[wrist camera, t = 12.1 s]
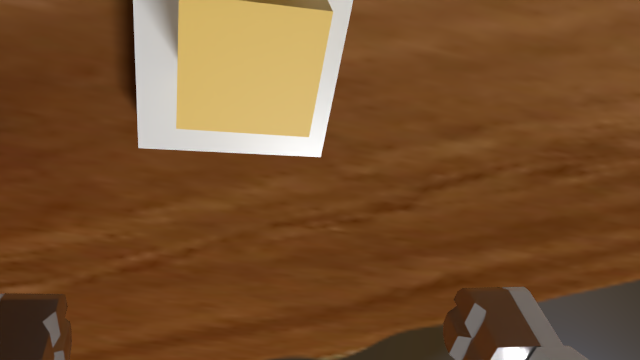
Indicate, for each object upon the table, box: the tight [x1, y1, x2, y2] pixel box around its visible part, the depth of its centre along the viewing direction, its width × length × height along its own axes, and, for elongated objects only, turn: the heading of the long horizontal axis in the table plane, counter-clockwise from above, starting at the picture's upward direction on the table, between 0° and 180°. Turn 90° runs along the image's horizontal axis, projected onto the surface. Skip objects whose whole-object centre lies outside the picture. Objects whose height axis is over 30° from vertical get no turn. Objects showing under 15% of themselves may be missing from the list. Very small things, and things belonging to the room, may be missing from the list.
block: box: [176, 0, 333, 137], centre depth 21 cm, size 5×5×5 cm
